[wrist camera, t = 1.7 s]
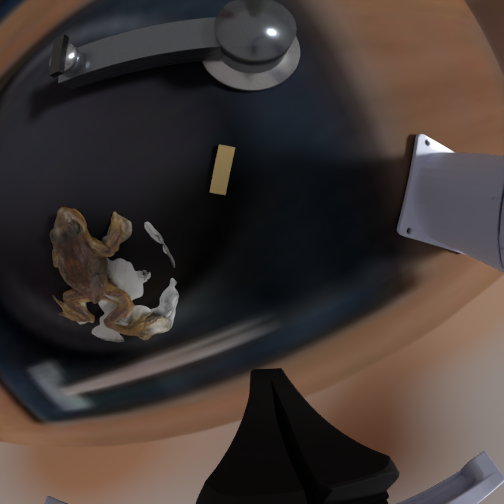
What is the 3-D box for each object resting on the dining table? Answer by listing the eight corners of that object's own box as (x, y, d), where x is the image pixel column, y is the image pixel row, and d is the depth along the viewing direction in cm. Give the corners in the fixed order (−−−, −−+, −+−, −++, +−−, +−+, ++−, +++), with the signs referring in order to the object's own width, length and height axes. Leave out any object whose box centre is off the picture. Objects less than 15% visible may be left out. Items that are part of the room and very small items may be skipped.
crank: (283, 19, 13) (297, -13, 9) (289, 74, 14) (307, 48, 10) (77, 50, 12) (48, 30, 8) (72, 104, 13) (39, 93, 9)
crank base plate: (305, 26, 14) (306, 23, 13) (289, 101, 16) (290, 100, 15) (213, 8, 13) (213, 5, 13) (190, 82, 15) (189, 81, 14)
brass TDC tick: (235, 148, 16) (235, 147, 16) (225, 194, 17) (225, 195, 17) (219, 144, 16) (219, 144, 16) (209, 192, 17) (209, 192, 17)
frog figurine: (26, 218, 16) (-3, 229, 13) (155, 173, 17) (138, 174, 13) (72, 343, 20) (54, 368, 16) (197, 327, 20) (192, 358, 16)
